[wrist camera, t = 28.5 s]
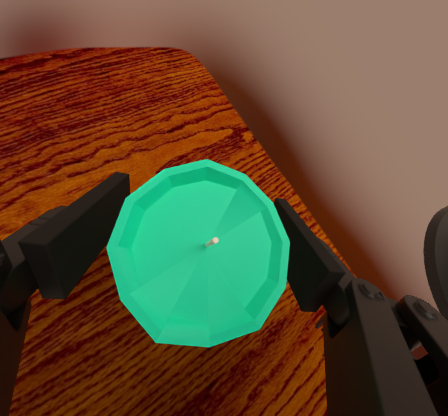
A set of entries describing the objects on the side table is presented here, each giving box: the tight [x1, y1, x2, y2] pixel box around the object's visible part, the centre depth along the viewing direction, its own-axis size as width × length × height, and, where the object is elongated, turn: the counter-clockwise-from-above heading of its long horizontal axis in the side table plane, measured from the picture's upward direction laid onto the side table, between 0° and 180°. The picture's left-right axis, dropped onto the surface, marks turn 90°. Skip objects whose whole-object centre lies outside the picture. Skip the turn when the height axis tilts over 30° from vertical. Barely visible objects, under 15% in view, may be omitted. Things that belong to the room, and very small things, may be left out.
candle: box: [106, 159, 290, 347], centre depth 10 cm, size 6×6×12 cm
